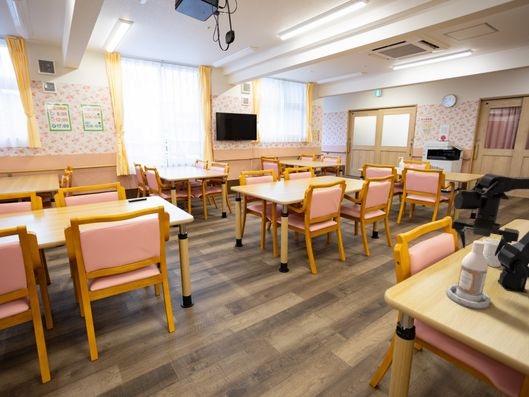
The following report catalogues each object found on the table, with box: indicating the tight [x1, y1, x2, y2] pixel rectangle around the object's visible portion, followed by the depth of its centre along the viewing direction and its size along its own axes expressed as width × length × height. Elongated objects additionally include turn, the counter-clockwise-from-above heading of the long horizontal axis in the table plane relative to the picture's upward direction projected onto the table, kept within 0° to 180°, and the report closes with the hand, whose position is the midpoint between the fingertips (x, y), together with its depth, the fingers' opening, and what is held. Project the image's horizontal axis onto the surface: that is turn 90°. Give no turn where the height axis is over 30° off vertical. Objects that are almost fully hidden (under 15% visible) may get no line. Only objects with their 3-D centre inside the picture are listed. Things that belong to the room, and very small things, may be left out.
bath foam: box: [456, 240, 489, 302], centre depth 95 cm, size 7×7×20 cm
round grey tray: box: [446, 283, 491, 310], centre depth 97 cm, size 12×12×2 cm
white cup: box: [482, 237, 504, 268], centre depth 122 cm, size 8×8×10 cm
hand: (479, 251), depth 104 cm, fingers open, 9 cm apart
